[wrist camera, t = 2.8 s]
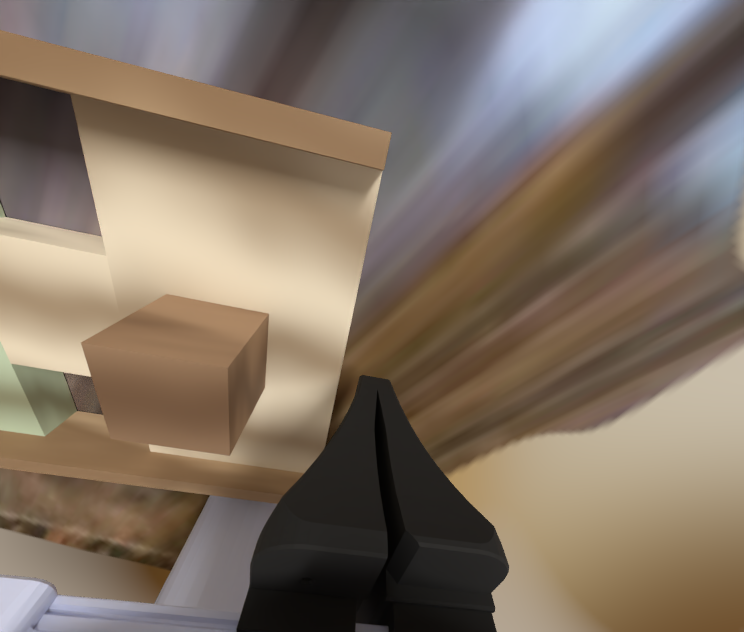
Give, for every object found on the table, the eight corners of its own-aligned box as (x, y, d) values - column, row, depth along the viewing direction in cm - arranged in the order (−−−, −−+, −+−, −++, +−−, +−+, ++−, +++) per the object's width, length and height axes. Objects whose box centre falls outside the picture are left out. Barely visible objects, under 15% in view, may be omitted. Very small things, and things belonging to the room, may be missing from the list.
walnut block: (265, 387, 15) (229, 456, 11) (176, 372, 14) (110, 438, 11) (269, 313, 13) (227, 367, 9) (166, 293, 12) (80, 342, 9)
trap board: (322, 457, 20) (312, 508, 17) (-42, 403, 18) (-130, 451, 15) (386, 144, 11) (391, 132, 8) (-319, -37, 9) (-681, -149, 6)
